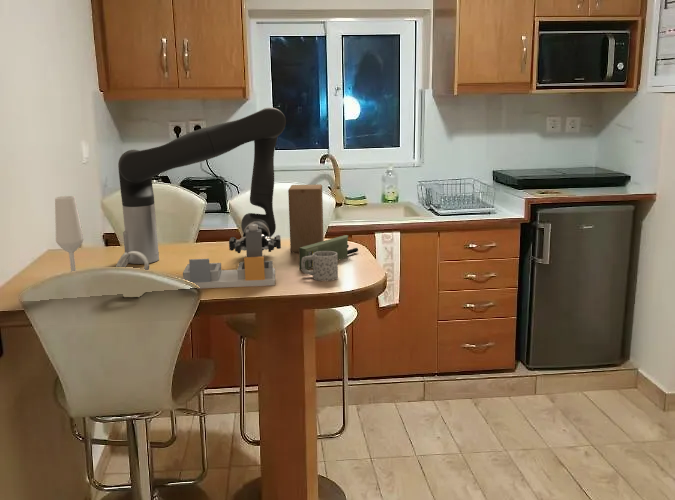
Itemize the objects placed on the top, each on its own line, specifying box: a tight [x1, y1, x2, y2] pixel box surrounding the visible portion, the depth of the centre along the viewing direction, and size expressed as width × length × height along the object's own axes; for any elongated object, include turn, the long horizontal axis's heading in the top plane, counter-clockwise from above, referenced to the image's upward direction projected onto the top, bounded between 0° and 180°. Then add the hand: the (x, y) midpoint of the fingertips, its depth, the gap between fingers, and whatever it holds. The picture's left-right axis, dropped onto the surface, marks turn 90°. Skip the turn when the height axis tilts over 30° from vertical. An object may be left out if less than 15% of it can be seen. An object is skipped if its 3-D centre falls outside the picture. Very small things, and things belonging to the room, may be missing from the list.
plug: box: [245, 224, 264, 257], centre depth 179 cm, size 4×4×14 cm
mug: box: [301, 251, 339, 282], centre depth 181 cm, size 10×7×7 cm, turn 77°
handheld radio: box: [298, 234, 359, 271], centre depth 199 cm, size 7×3×25 cm
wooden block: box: [287, 183, 325, 253], centre depth 214 cm, size 10×10×20 cm
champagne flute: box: [54, 195, 85, 273], centre depth 174 cm, size 7×7×24 cm
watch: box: [115, 251, 150, 271], centre depth 169 cm, size 6×8×11 cm
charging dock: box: [182, 256, 276, 289], centre depth 179 cm, size 24×12×8 cm, turn 95°
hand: (254, 248), depth 177 cm, fingers open, 7 cm apart
